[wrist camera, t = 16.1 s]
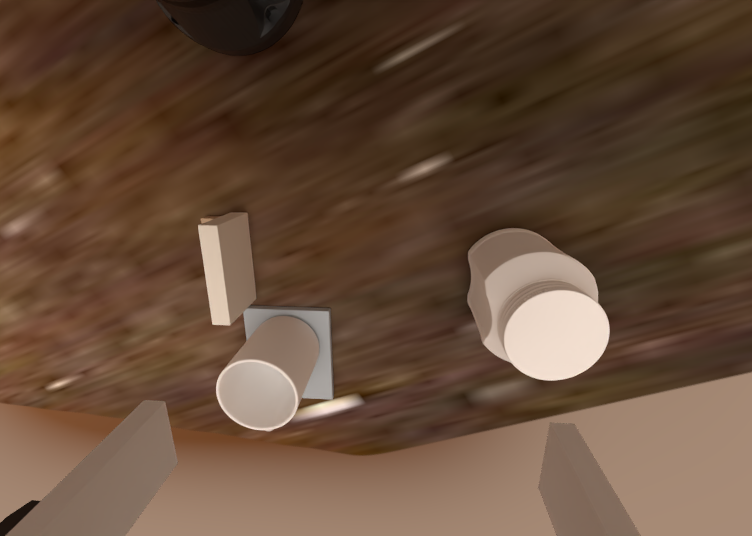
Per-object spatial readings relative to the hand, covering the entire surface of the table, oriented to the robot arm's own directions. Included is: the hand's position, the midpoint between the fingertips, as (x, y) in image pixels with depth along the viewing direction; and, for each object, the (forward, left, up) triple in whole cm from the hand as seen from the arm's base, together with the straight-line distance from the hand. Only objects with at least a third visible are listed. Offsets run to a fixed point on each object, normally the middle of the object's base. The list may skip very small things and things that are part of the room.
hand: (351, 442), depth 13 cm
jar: (+5, +14, -33) cm, 36 cm away
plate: (+16, -13, -33) cm, 39 cm away
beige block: (+4, -19, -33) cm, 38 cm away
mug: (+16, -13, -32) cm, 38 cm away
